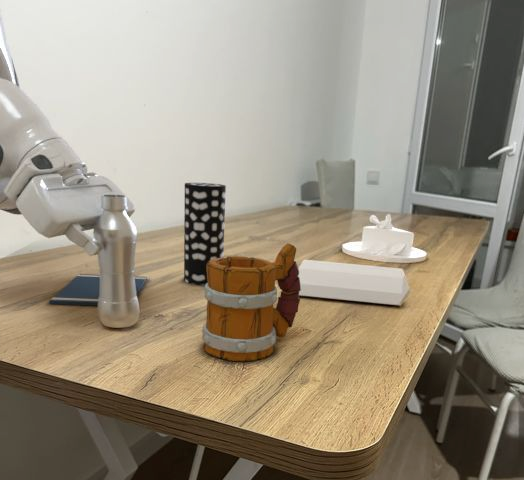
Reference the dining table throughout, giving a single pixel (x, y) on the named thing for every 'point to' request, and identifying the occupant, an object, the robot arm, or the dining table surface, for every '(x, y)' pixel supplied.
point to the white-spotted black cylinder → (202, 229)
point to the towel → (86, 290)
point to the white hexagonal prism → (353, 282)
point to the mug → (249, 304)
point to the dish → (385, 244)
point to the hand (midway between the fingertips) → (116, 247)
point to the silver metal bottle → (116, 264)
